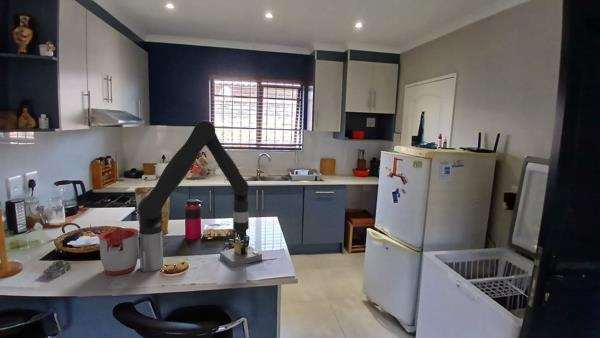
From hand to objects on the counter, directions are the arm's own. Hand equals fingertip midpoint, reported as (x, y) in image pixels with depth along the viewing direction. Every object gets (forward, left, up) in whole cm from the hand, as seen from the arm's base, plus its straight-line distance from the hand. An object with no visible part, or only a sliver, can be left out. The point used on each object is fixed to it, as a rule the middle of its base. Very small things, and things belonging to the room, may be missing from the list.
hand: (240, 252), depth 159 cm
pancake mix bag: (-26, +61, -3) cm, 66 cm away
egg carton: (-72, +32, -4) cm, 79 cm away
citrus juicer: (-50, +19, -3) cm, 54 cm away
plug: (0, 0, -2) cm, 2 cm away
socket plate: (0, 0, -3) cm, 3 cm away
